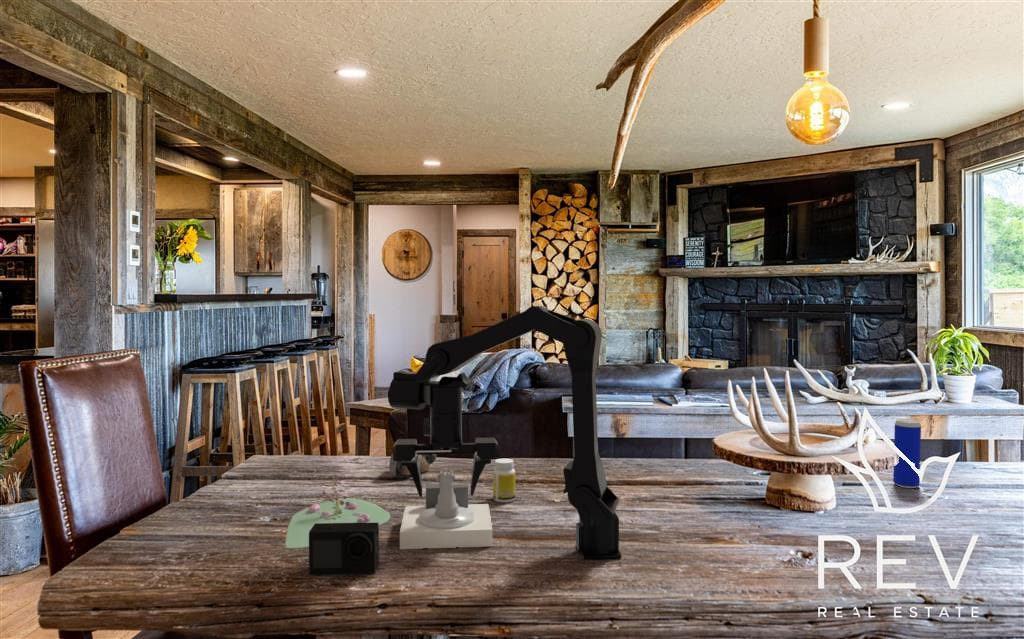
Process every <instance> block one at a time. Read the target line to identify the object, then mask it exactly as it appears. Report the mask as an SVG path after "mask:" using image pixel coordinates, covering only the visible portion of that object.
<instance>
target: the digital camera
mask: <svg viewBox="0 0 1024 639" xmlns="http://www.w3.org/2000/svg"><path fill="white" fill-rule="evenodd" d="M379 526H380V525H379V524H378V523H315V524H314V526H313V527H312V529H311V530H310V531H309V547H308V566H309V568H308V569H309V570H308V571H309V576H310V575H311V576H318V575H319V576H327V575H328V576H331V575H332V576H334V575H374V574H376V571H377V568H378V566H379V562H380V561H379V560H380V559H379V558H380V552H379V551H380V550H379V549H380V548H379V547H380V546H379V545H380V544H379V543H380V542H379V539H380V538H379V536H380V531H379V530H380V529H379Z"/></svg>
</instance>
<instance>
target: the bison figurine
mask: <svg viewBox="0 0 1024 639" xmlns="http://www.w3.org/2000/svg"><path fill="white" fill-rule="evenodd" d="M436 459H437V454H425V455H419V466H420V474H422V473H423V474H424V472H427V471H428V470H429V469H430V466H431V465H432V464H433V463H434V462H435V461H436ZM388 464H389V467H388V468H389V471H390V474H391V475H392V476H394V477H395V476H396V477H397V476H405V477H406V476H411V474H410V472H409V470H408V469H407V467H406V466H401V461H393V453H391V455H390V458H389V463H388Z"/></svg>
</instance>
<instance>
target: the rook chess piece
mask: <svg viewBox="0 0 1024 639" xmlns="http://www.w3.org/2000/svg"><path fill="white" fill-rule="evenodd" d="M455 478H456V475H455V474H454V470H452V469H448V471H447V469H443V470H442V469H441V470H439V474H438V475H437V479H438V480H439V484H438V485H439V486H440V494H439V500H438V501H437V502H438V503H437V504H436V506H435V509H436V511H435V514H436V516H437V517H439V518H452V517H455V516H457V515H458V513H459V511H458V510H457V509H458V507H459V506H458V504H457V503H456V500H455V498H454V491H453V486H454V485H455V483H454V479H455Z"/></svg>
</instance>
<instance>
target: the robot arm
mask: <svg viewBox="0 0 1024 639" xmlns="http://www.w3.org/2000/svg"><path fill="white" fill-rule="evenodd" d="M533 331H537V332H539V333H541V334H543V335H545V336H547V337H549V338H551V339H552V340H554V341H557V342H559V343H562V346H563V350H564V356H565V358H566V359H565V360H566V362H567V364H568V368H569V370H570V375H571V397H572V398H571V399H572V403H571V404H572V422H573V423H572V425H573V428H572V429H573V431H572V432H573V433H572V434H573V460H569V462H568V463H567V464H566V465H565V466H564V468H563V472H562V473H563V478H564V484H565V485H564V489H563V491H562V492H563V494H566V493H567V500H568V503H569V504H570V505H571V506H572V507H573V508H574V509H575V510H576V512H577V514H578V517H579V521H578V522H576V524H575V546H576V548H577V550H578V552H580V554H581V556H582V558H583V559H585V560H589V559H590V560H594V559H619V558H622V555H623V554H622V553H621V551H620V518H619V516H618V514H617V513H616V510H617V507H618V504H619V501H620V498H619V497H618V496H617V495H616V494H615V493H614V491H613V490H612V489H611V488H609V486H608V484H607V478H606V474H605V470H604V469H605V468H604V465H603V462H602V460H601V457H600V453H599V444H598V443H599V442H598V441H599V440H598V435H599V434H598V413H597V412H598V411H597V410H598V409H597V407H598V406H597V384H596V383H597V382H596V381H597V377H596V374H597V373H596V371H597V366H598V363H599V358H600V352H601V346H602V338H603V332H602V329H601V327H600V325H599V324H598V323H597V322H596V321H594V320H592V319H589V318H582V319H577V318H573V317H571V316H568V315H565V314H562V313H558V312H556V311H553V310H550V309H548V308H546V307H545V306H543V305H534V306H529V307H528V308H527V309H526V310H524V311H522V312H519V313H517V314H515V315H513V316H510V317H508V318H507V319H503V320H502V321H500V322H497V323H495V324H492V325H491V326H488V327H486V328H484V329H481V330H480V331H476V332H474V333H472V334H471V335H466V336H462V337H458V338H454V339H449V340H444V341H440V342H437V343H434V344H431V345H430V346H429V347H428V348H427V350H426V354H425V360H424V362H423V363H422V365H421V366H420V367H419V369H418V370H417V371H416V372H408V371H404V370H397V371H395V372H393V378H392V380H391V382H390V384H389V389H388V390H387V401H388V403H389V406H390V407H391V408H393V409H407V410H408V409H409V410H424V408H425V407H426V406H427V405H430V406H429V411H430V412H429V418H425V417H424V418H423V436H424V437H430V439H429V440H430V441H429V442H430V443H418V440H417V438H399V439H396V441H395V442H394V444H393V448H392V454H393V461H401V466H406V467H407V469H408V470H409V472H410V474H411V475H410V476H411V477H412V480H413V483H414V486H415V488H416V492H417V493H418V496H419V498H422V497H423V484H422V475H421V474H422V473H420V466H419V455H425V454H436V455H458V454H459V455H461V454H462V455H465V454H467V455H468V454H469V455H470V454H473V462H472V472H471V478H470V480H471V481H470V496H471V497H473V496H474V493H475V491H476V488H477V485H478V482H479V479H480V476H481V475H482V472H483V470H484V469H485V466H486V465H490V464H492V460H497V459H499V444H498V440H497V439H496V438H495V437H475V442H463V410H462V409H463V407H462V406H463V397H462V396H463V388H464V389H466V388H468V387H471V386H473V385H474V381H473V380H472V379H470V378H469V377H468V376H467V375H466V373H465V372H461V373H459V374H458V375H457V376H444V375H447V374H451V373H454V372H457V371H459V370H461V369H462V368H464V367H465V366H467V365H468V364H469V363H471V362H473V361H474V360H475V359H476V358H478V357H479V356H480V355H482V354H483V353H485V352H487V351H490V350H492V349H495V348H496V347H499V346H501V345H504V344H506V343H508V342H511V341H513V340H515V339H517V338H520V337H523V336H524V335H527V334H529V333H531V332H533ZM439 376H442V377H441V378H440V379H439V380H431V379H434V378H436V377H439Z"/></svg>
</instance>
